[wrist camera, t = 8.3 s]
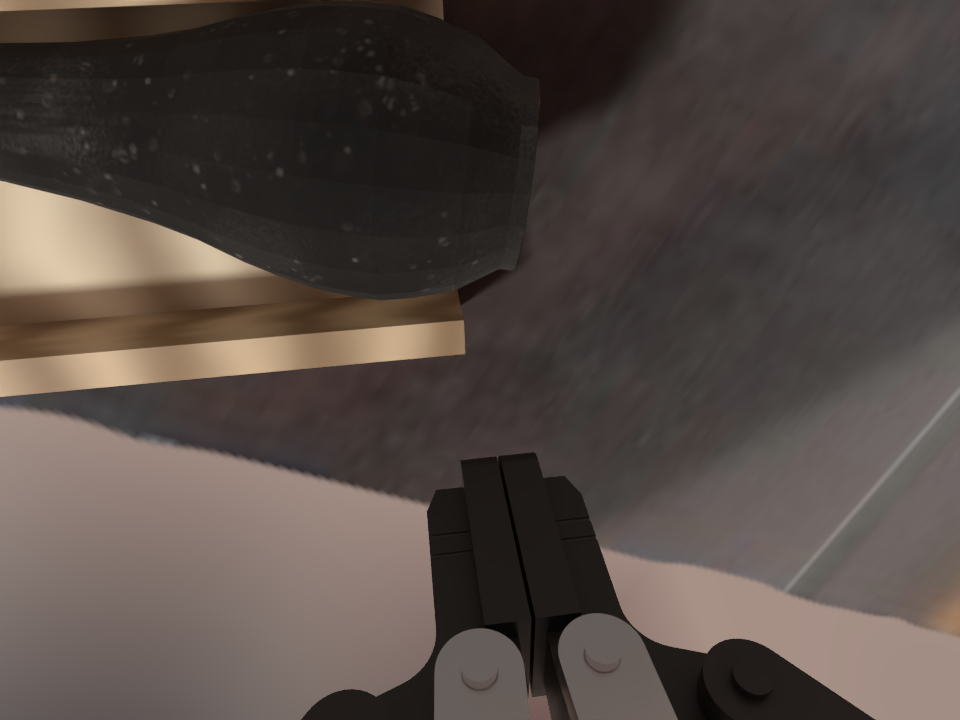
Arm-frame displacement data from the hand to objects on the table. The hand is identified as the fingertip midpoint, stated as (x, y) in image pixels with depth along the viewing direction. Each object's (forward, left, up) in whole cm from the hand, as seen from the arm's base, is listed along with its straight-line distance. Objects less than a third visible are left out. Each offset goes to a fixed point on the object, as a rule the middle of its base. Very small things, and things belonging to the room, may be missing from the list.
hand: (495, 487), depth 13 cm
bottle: (-4, -1, -15) cm, 15 cm away
